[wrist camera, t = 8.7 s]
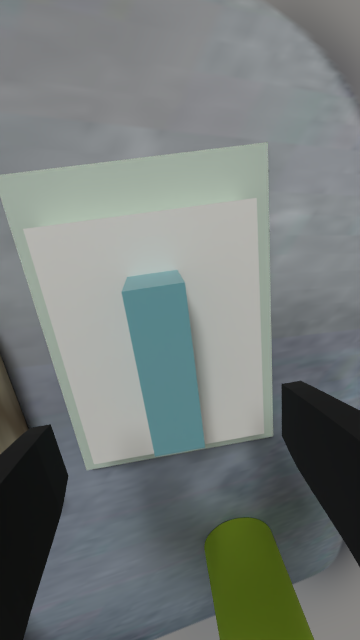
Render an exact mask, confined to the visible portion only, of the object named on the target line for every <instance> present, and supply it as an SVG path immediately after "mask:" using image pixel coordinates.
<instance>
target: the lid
mask: <svg viewBox="0 0 360 640" xmlns="http://www.w3.org/2000/svg"><path fill="white" fill-rule="evenodd" d="M23 231H24V234H25V237H26V241H27V244H28V247H29V251H30V254H31V257H32V261H33V264H34V267H35V271H36V274H37V277H38V280H39V284H40V287H41V290H42V294H43V297H44V300H45V304H46V307H47V310H48V314H49V317H50V320H51V324H52V327H53V330H54V333H55V337H56V340H57V343H58V347H59V350H60V353H61V357H62V360H63V363H64V367H65V370H66V373H67V377H68V380H69V383H70V386H71V390H72V393H73V396H74V400H75V403H76V406H77V410H78V413H79V416H80V420H81V423H82V426H83V430H84V433H85V436H86V439H87V443H88V446H89V449H90V453H91V456H92V459H93V463H94V464H100V463H105V462H111V461H116V460H122V459H127V458H133V457H138V456H144V455H149V454H154V455H155V457H157V456H162V455H168V454H173V453H179V452H184V451H190V450H195V449H200V448H205V444H209V443H215V442H220V441H226V440H231V439H237V438H242V437H248V436H253V435H259V434H264V411H263V379H262V348H261V316H260V285H259V253H258V222H257V198H251V199H244V200H236V201H229V202H221V203H214V204H206V205H199V206H191V207H184V208H176V209H169V210H161V211H154V212H146V213H139V214H131V215H124V216H116V217H109V218H101V219H94V220H86V221H79V222H71V223H64V224H56V225H49V226H41V227H34V228H26V229H23Z"/></svg>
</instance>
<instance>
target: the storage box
mask: <svg viewBox="0 0 360 640" xmlns="http://www.w3.org/2000/svg"><path fill="white" fill-rule="evenodd" d="M27 430H28V426H27V423H26V421H25V418H24V416H23V413H22V410H21V408H20V405H19V403H18V400H17V397H16V395H15V392H14V390H13V387H12V384H11V382H10V379H9V376H8V374H7V371H6V369H5V366H4V363H3V361H2V358H1V356H0V454H1V453H2V452H3V451H4V450H6V449H7V448H8V447H9V446H10V445H11V444H12V443H13V442H14V441H15V440H17V439H18V438H19V437H20V436H21V435H22V434H23V433H25V432H26V431H27Z"/></svg>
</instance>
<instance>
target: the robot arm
mask: <svg viewBox="0 0 360 640" xmlns="http://www.w3.org/2000/svg"><path fill="white" fill-rule="evenodd" d="M282 437H283V439H284V441H285V443H286V445H287V448H288V450H289V452H290V454H291V456H292V458H293V460H294V462H295V464H296V466H297V468H298V469H299V471H300V473H301V474H302V476H303V477H304V479H305V481H306V482H307V484H308V485H309V487H310V488H311V490H312V492H313V493H314V495H315V496H316V498H317V499H318V501H319V503H320V504H321V506H322V507H323V509H324V510H325V512H326V513H327V515H328V517H329V518H330V520H331V521H332V523H333V524H334V526H335V527H336V529H337V531H338V532H339V534H340V535H341V537H342V538H343V540H344V542H345V543H346V545H347V546H348V548H349V549H350V551H351V553H352V554H353V556H354V558H355V560H356V561H357V563H358V565H359V566H360V410H358V409H356V408H354V407H352V406H350V405H348V404H346V403H344V402H342V401H340V400H338V399H336V398H334V397H332V396H330V395H328V394H326V393H324V392H322V391H320V390H318V389H316V388H314V387H312V386H310V385H308V384H306V383H304V382H302V381H297V382H291V383H285V384H282ZM67 480H68V473H67V470H66V468H65V465H64V462H63V459H62V456H61V453H60V450H59V447H58V445H57V442H56V439H55V436H54V433H53V430H52V427H51V424H50V425H45V426H39V427H33V428H29V429H28V430H27V431H26V432H25V433H23V434H22V435H21V436H20V437H19V438H18V439H17V440H15V441H14V442H13V443H12V444H11V445H10V446H9V447H8V448H7V449H6V450H4V451H3V452H2V453H1V454H0V640H23V638H24V634H25V631H26V627H27V624H28V620H29V616H30V613H31V610H32V606H33V603H34V600H35V597H36V594H37V590H38V587H39V584H40V581H41V578H42V574H43V571H44V568H45V565H46V562H47V558H48V555H49V552H50V549H51V546H52V542H53V539H54V536H55V532H56V529H57V526H58V523H59V519H60V516H61V512H62V507H63V502H64V497H65V492H66V486H67Z"/></svg>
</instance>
